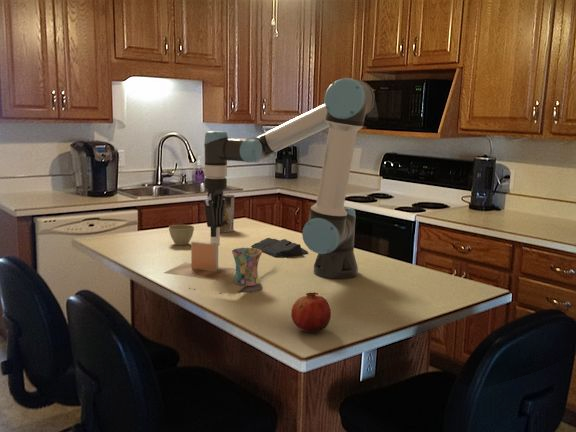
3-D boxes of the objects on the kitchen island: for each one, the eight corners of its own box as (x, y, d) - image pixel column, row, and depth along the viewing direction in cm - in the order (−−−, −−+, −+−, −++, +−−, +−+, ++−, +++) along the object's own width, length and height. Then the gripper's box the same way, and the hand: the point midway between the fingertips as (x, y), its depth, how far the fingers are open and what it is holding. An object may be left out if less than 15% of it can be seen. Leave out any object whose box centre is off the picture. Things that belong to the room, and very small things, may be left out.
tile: (218, 270, 197) (218, 243, 196) (215, 271, 195) (215, 244, 194) (193, 266, 200) (194, 240, 198) (191, 268, 198) (191, 242, 197)
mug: (232, 279, 190) (233, 247, 188) (261, 280, 190) (262, 248, 188) (229, 290, 178) (230, 256, 176) (260, 291, 178) (261, 257, 176)
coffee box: (210, 231, 265) (210, 195, 263) (214, 228, 272) (215, 193, 269) (230, 232, 264) (230, 196, 261) (234, 229, 270) (234, 194, 267)
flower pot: (199, 243, 241) (199, 226, 239) (182, 248, 232) (182, 230, 231) (180, 240, 246) (180, 223, 245) (163, 244, 238) (163, 227, 236)
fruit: (312, 342, 143) (314, 302, 141) (282, 331, 149) (283, 292, 147) (339, 330, 150) (341, 292, 149) (309, 320, 157) (310, 284, 155)
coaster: (267, 284, 188) (267, 282, 188) (253, 294, 178) (253, 292, 177) (235, 280, 191) (235, 278, 191) (220, 289, 181) (220, 287, 181)
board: (237, 273, 199) (237, 269, 199) (219, 284, 186) (219, 280, 186) (184, 266, 205) (184, 262, 205) (163, 277, 192) (163, 272, 192)
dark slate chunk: (279, 244, 247) (279, 232, 246) (311, 255, 229) (311, 243, 228) (247, 248, 238) (247, 236, 237) (278, 260, 220) (278, 247, 219)
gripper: (214, 174, 207) (213, 240, 211) (196, 178, 195) (196, 248, 199) (233, 176, 204) (232, 242, 209) (217, 180, 192) (216, 250, 197)
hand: (215, 245), depth 204 cm, fingers closed
